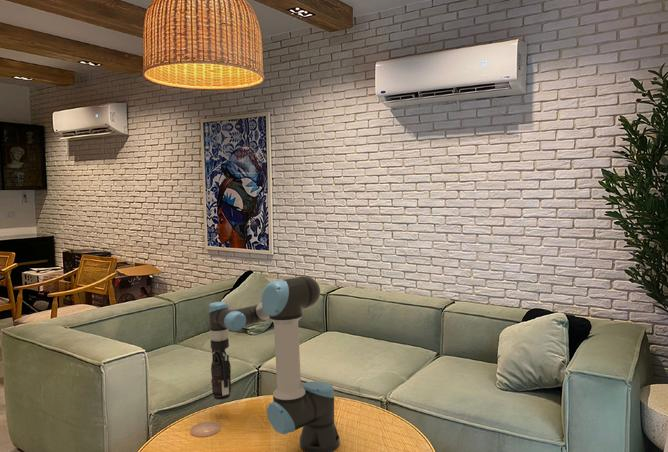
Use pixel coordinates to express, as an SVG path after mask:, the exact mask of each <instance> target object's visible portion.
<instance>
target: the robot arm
mask: <svg viewBox="0 0 668 452" xmlns="http://www.w3.org/2000/svg"><path fill="white" fill-rule="evenodd" d="M320 297H321V288H320V285H319V283H318V282H317V281H316V279H314V278H312V277H310V276H306V275H302V276H301V275H300V276H297V277H290V278H285V279H277V280H275V281H271V282H269V283H268V284H266V286H265V287H264V288H263V291H262V293H261V302H259V303H257V304H253V305H252V306H246V307H242V308H237V309H228V304H227V302H225V301H215V302H212V303H210V304H209V305H208V319H209V320H208V321H209V338H210V349H211V353H212V360H211V361H212V362H213V361H215V362H218V364H220V365H223V366H221V372H222V379H221V381H222V395H227V394H229V382H228V379H230V378H231V374H230V368H229V361H230V356H229V355H228V354H227V351H226V349H228V348H229V346H230V344H229V343H230V342H229V331H237V332H238V331H241V330H242V329H244V328H245V327H247V326H250V325H254V324H258V323H264V322H268V321H269V320H270V321H271V322H272V323H273V329H274V330H273V332H274V353H275V373H276V389H275V390H274V391H273V393H272V399H273V400H272V401H271V402H270V403H269V404H268V405H267V407H266V415H267V419H268V421H269V423H270V425H271V426H272V429H274V430H275V431H276V432H277V433H279V434H281V435H287V434H289V433H292V432H295V431H297V430H298V429H301V428H302V429H301V432H300V436H299V447H300V449H301V450H302V451H304V452H333V451H335V450H336V449H338V447H339V446H340V435H339V432H338V429H337V427H336V424H335V423H336V422H335V390H334V387H333V386H332V385H331V384H329V383H327V382H323V381H307V382H305V383H303V385H302V379H301V378H302V377H301V374H302V373H301V355H300V334H299V332H300V331H299V321H300V320H301V319H302V318H303V309H307V308H310V307H313V306H314V305H315V304H316V303H317V302H318V301H319V299H320ZM221 361H222V362H221ZM212 362H211V363H212Z"/></svg>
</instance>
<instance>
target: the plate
mask: <svg viewBox="0 0 668 452" xmlns="http://www.w3.org/2000/svg"><path fill="white" fill-rule="evenodd" d="M221 429H222V427H221V424H220V423H218V422H216V421H203V422H199V423H197V424H193V426H192V427H190V429H189V433H190V435H191V436H193V437H196V438H207V437H212V436H214V435H216V434H218V433H219V432H220V431H221Z"/></svg>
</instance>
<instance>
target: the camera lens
mask: <svg viewBox="0 0 668 452" xmlns="http://www.w3.org/2000/svg"><path fill="white" fill-rule="evenodd" d="M221 362H222V361H221ZM221 366H223V365H220V364H218V362H215V361H213V362H211V365H210V374H211V380H210V383H211V390H212V395H213V398H214V400H220V401H221V400H226V399H228V398H230V396H231V393H232V384H231V383H232V382H231V378H230V379H228V382H229V394H227V395H222V381H221V379H222V372H221ZM229 368H230V375H231V374H232V373H231V371H232V370H231V369H232V367H231V362H230V360H229Z"/></svg>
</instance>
